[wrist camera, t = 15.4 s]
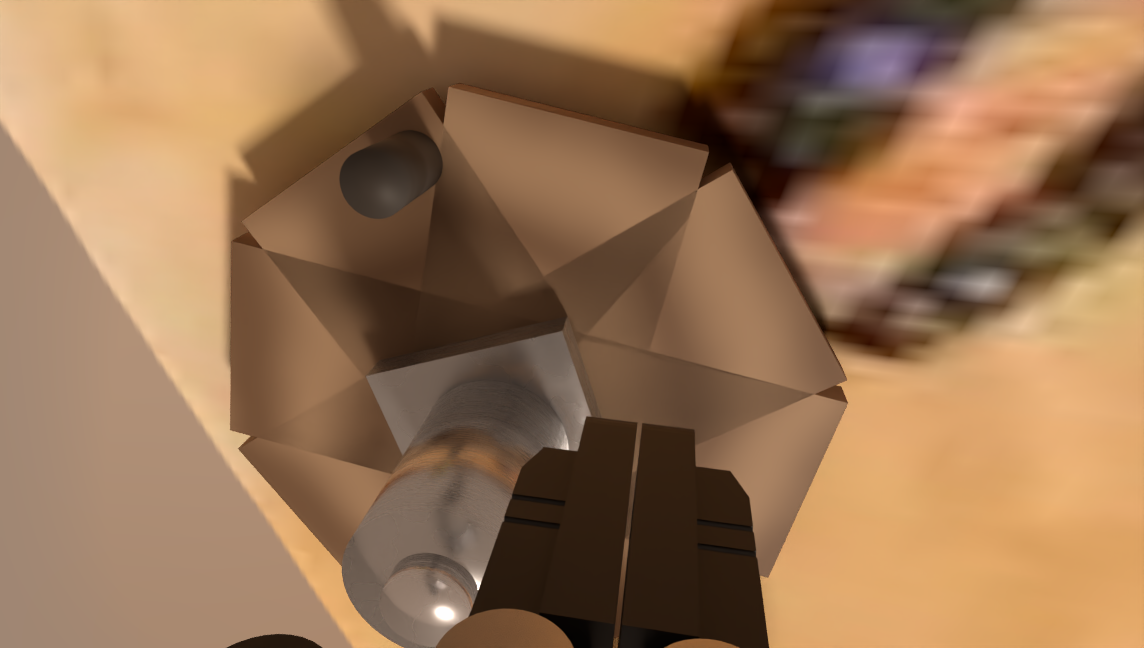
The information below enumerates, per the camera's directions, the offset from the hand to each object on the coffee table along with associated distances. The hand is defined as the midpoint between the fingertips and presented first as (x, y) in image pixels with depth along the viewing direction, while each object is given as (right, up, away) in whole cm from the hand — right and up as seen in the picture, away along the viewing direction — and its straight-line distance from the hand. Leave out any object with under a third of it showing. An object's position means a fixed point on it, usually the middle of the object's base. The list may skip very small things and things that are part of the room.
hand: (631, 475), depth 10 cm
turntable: (-3, -2, +23) cm, 24 cm away
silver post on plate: (-4, -3, +22) cm, 23 cm away
